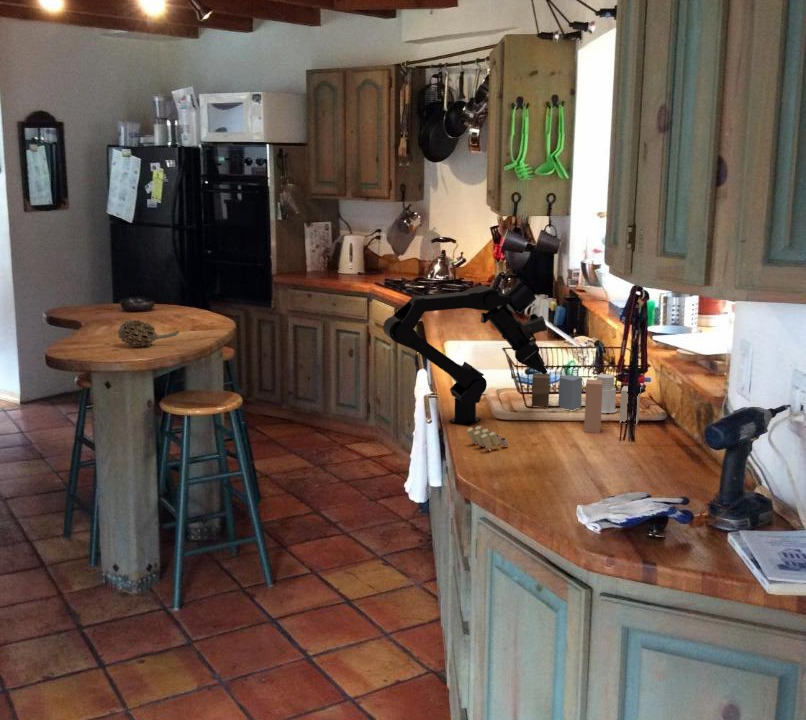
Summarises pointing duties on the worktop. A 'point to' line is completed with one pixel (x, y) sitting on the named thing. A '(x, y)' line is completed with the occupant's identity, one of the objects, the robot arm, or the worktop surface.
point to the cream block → (624, 405)
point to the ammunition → (485, 437)
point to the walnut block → (540, 389)
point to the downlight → (608, 393)
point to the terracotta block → (593, 406)
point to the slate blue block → (570, 392)
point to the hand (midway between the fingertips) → (544, 369)
